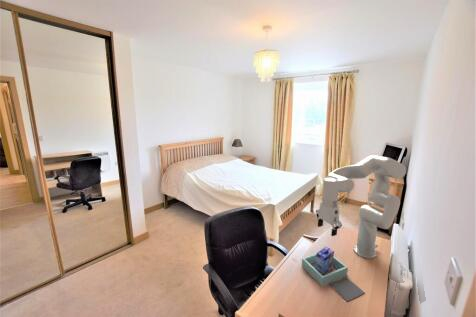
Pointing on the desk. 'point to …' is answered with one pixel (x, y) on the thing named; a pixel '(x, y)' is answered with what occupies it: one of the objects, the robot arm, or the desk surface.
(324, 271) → the ink cartridge box
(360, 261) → the desk surface
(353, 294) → the mat
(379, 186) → the robot arm
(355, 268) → the desk surface
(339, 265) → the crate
